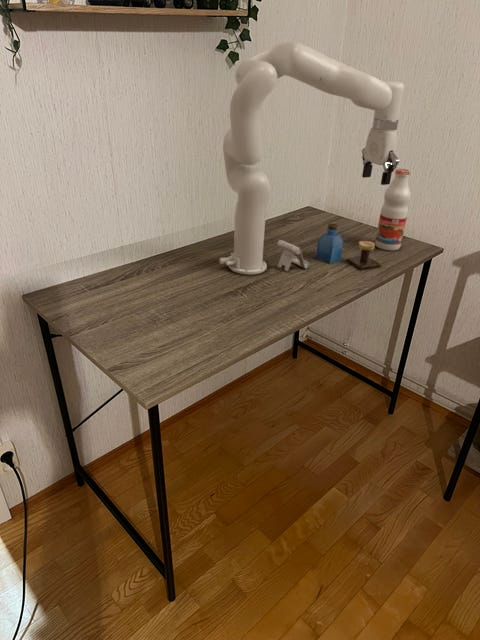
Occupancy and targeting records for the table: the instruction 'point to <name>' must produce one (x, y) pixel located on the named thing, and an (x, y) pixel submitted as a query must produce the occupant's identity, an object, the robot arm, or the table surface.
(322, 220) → the table surface
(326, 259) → the perfume bottle
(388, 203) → the white yogurt drink bottle
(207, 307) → the table surface
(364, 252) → the stand
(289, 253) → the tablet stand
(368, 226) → the table surface
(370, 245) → the chip
